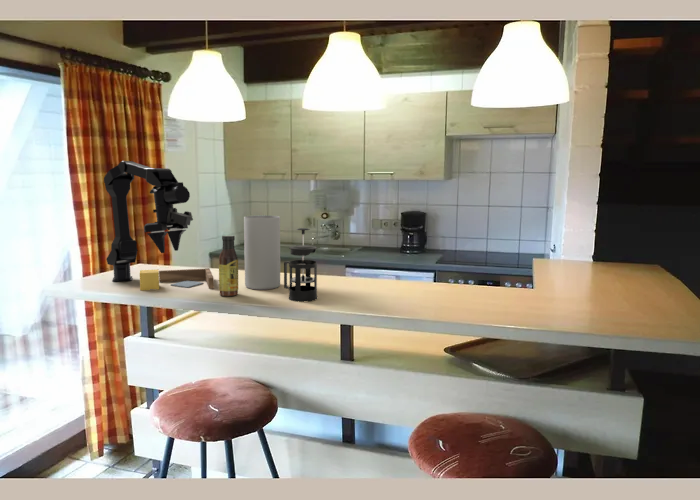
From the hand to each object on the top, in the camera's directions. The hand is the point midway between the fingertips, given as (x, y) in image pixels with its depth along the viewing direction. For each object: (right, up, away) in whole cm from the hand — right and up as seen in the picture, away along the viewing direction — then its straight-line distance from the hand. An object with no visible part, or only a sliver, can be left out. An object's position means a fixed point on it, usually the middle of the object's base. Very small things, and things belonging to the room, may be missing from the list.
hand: (169, 251), depth 174 cm
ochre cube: (-9, -13, +5) cm, 16 cm away
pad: (+2, -12, +11) cm, 16 cm away
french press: (+45, -15, -6) cm, 48 cm away
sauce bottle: (+21, -15, -3) cm, 26 cm away
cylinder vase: (+30, -13, +10) cm, 34 cm away
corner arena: (+2, -12, +12) cm, 17 cm away
